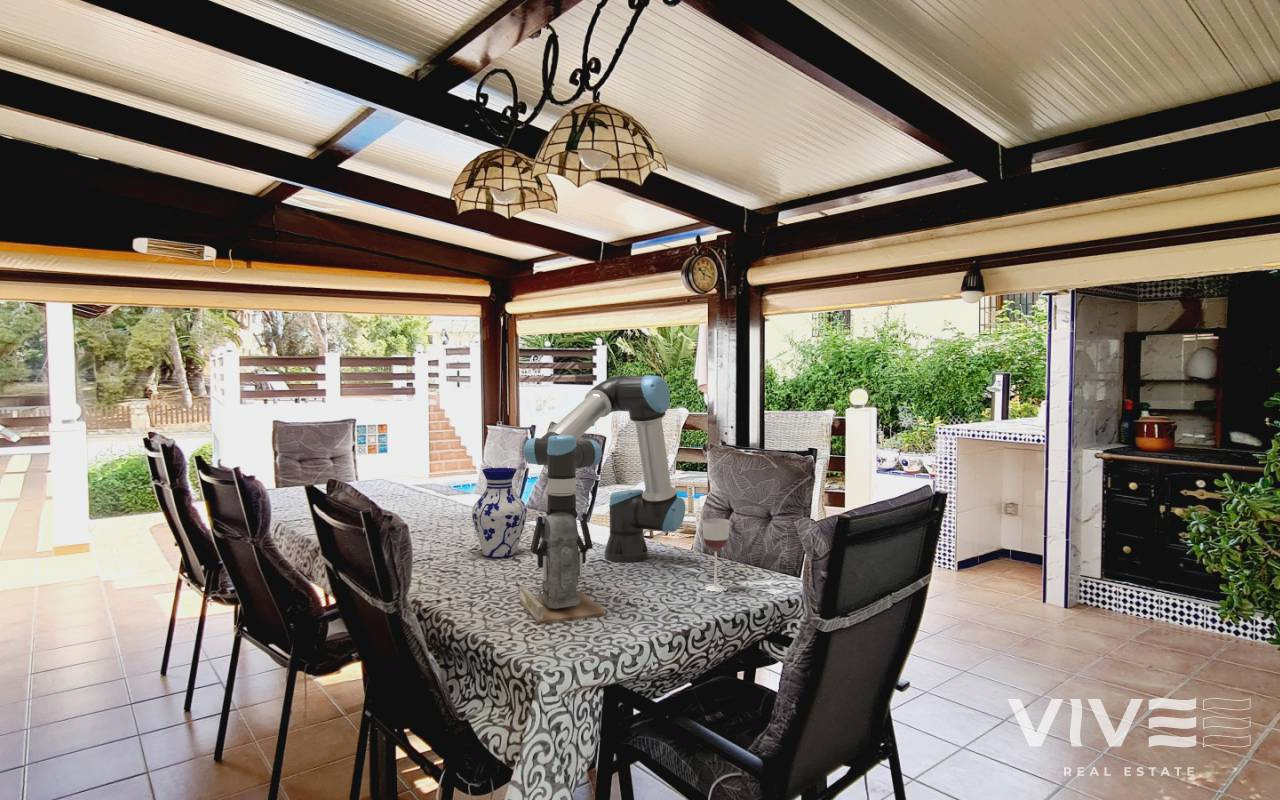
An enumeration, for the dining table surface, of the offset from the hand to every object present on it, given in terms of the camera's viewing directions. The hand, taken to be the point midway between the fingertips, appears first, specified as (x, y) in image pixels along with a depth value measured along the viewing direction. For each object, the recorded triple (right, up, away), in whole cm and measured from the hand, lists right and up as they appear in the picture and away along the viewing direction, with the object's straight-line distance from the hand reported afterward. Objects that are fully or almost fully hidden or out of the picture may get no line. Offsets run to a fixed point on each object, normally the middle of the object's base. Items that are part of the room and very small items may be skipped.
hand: (561, 577), depth 192 cm
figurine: (0, -7, 0) cm, 7 cm away
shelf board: (0, -8, 0) cm, 8 cm away
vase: (-28, -7, +61) cm, 68 cm away
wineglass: (+43, -8, +19) cm, 48 cm away
